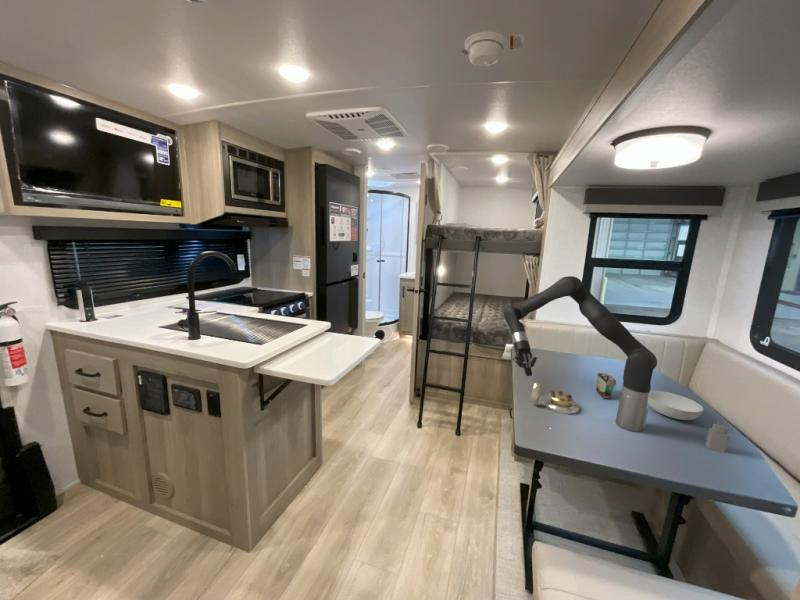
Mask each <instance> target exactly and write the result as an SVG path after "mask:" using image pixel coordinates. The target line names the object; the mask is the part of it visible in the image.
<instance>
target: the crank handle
mask: <svg viewBox="0 0 800 600" xmlns="http://www.w3.org/2000/svg"><path fill="white" fill-rule="evenodd" d="M541 387H542V383H540V382H538V381H534V382H533V383H532V391H531V397H530V402H532V403H533V404H538V403H539V402H541V403H542V402H551V403H553V404H555V405H557V406H561V407H571V406H572V404H573V401H574V398H573V396H572V395H571V394H570V393H569V394H567V393H564V392H563V391H564V390H563V391H562V390H558V391H554V390H550V393H548V394H549V397H541V396H540V392H541Z"/></svg>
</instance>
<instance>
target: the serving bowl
mask: <svg viewBox="0 0 800 600" xmlns="http://www.w3.org/2000/svg"><path fill="white" fill-rule="evenodd" d="M647 406H649V407H650V408H651V409H652V410H654V411H656V412H657V413H659V414H661V415H664V416H665V417H668V418H671V419H677V420H683V421H690V420H695V419H698V418H699V417H701V416H702V414H703V412H704V407H703V406H702V404H699V403H698V402H696V401H694V400H693V399H690V398H688V397H685V396H683V395H679V394H676V393H674V392H668V391H662V390H650V393H649V397H648V402H647Z"/></svg>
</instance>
